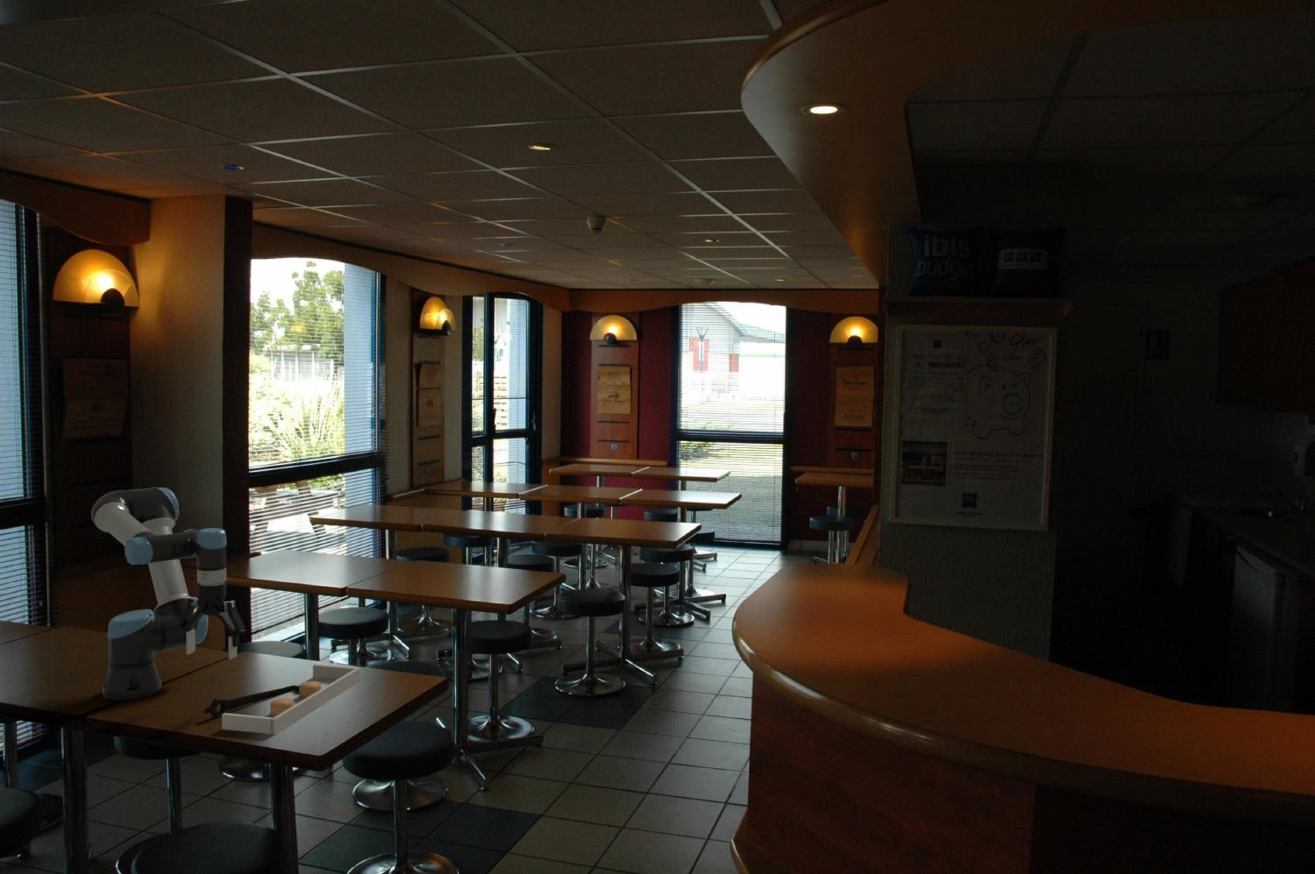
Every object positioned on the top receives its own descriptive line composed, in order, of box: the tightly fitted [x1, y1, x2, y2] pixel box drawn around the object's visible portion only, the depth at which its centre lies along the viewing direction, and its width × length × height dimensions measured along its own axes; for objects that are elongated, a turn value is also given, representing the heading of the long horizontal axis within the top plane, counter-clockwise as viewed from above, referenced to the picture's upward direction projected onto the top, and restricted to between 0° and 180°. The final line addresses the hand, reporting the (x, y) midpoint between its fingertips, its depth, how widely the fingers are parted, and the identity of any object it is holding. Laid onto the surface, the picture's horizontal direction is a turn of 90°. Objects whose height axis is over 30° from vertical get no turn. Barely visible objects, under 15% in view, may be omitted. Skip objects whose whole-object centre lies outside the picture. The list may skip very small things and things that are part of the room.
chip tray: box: [221, 663, 362, 735], centre depth 260 cm, size 16×44×4 cm, turn 169°
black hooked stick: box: [202, 684, 299, 719], centre depth 258 cm, size 5×5×30 cm
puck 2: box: [298, 680, 322, 700], centre depth 266 cm, size 6×6×4 cm
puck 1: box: [270, 697, 295, 718], centre depth 252 cm, size 6×6×4 cm
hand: (211, 655), depth 260 cm, fingers open, 13 cm apart
